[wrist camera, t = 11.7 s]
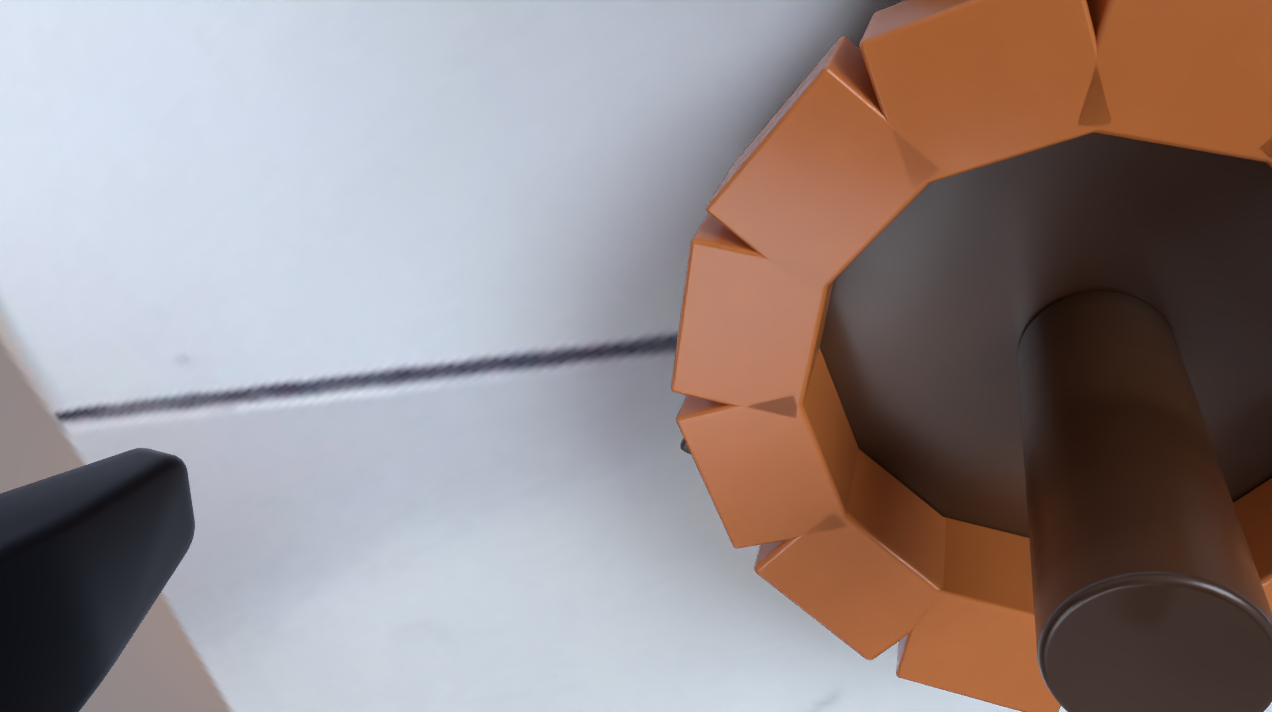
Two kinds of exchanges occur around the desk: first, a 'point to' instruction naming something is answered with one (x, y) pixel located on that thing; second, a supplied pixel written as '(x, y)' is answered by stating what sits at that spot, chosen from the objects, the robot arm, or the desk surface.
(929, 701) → the desk surface
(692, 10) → the desk surface
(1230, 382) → the post
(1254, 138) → the ring
